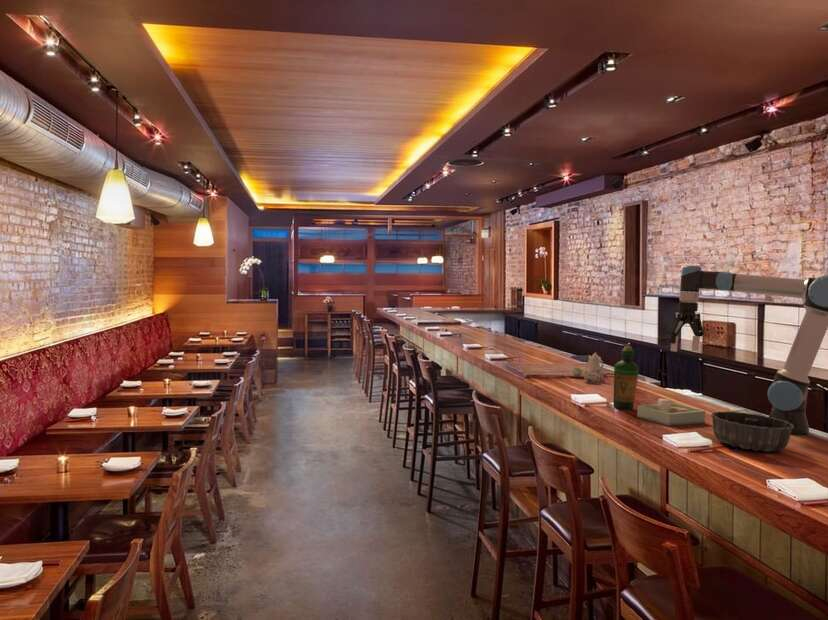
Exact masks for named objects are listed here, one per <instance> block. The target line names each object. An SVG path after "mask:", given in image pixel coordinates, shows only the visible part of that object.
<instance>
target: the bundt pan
mask: <svg viewBox="0 0 828 620" xmlns="http://www.w3.org/2000/svg"><path fill="white" fill-rule="evenodd" d="M711 419H712V428H713V435H714V436H715V438H716V439H717V440H718V441H719V442H722V443H724V444H725V445H728V446H731V447H732V448H740V449H741V450H750V449H751V450H752V451H753V452H757V451H761V452H764V453H769V452H771V453H776V452H778V451H781V450H783V449H785V448H786V447H787V446H788V444H789V441H790V437H791V431H792V429H793V428H794V426H793V424H791V423H788V422H787V421H784V420H780V419H776V418H772V417H769V416H765V415H762V414H754V413H746V412H738V411H716V412H715V411H714V412H712V413H711Z"/></svg>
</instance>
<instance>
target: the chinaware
mask: <svg viewBox="0 0 828 620" xmlns="http://www.w3.org/2000/svg"><path fill="white" fill-rule="evenodd" d="M601 358H602V357H600V356H599V354H597V352H594V353H593V354H592V355H588V361H587V364H586V366H585V367H586V369H585V368H584V367H583V368H582V367H578V366H575V367H572V366H570V367H569V369H570V373H571V374H572V376H573V377H574V378H579V377H580V376H582V375H583V378H584V380H585V381H586V382H587V383H588V384H593V383H595V382H601V381H602V380H603V378H604V377H605V376H604V374H603V372H602V370H603V368H604V361H603V360H602V359H601ZM600 364H601V365H600Z"/></svg>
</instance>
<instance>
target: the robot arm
mask: <svg viewBox="0 0 828 620" xmlns="http://www.w3.org/2000/svg"><path fill="white" fill-rule="evenodd" d="M679 287H680V288H679V289H680V290H679V302H678V311H679V312H674V315H673V319H672V321H671V323H670V325H669V328H668V330H667V334H668V335H669V336H670V352H675V353H677V352H678V347H679V345H678V344H679V336H678V334H679V333H680V331H681V330H682V329H683V326H684V325H686V324H687V325H689V326H690V329H691V331H692V333H693V334H694V335H692V342H691V344H692V345H691V351H692V352H699V348H700V347H699V346H700V341H701V340H700V339H701V337H703V335H704V334H705V333H704V328H703V327H704V326H703V324H702V321H701V313H696V312H698V310H699V303H698V302H699V300H700V299H699V297H700V289H702V290H703V289H704V290H718V291H728V292H738V293H747V294H748V293H749V294H750V293H751V294H758V295H768V296H776V297H777V296H778V297H786V298H797V299H802V300H803V301H804V302H803V303H804V304H803V308H804V310H805V313H804V315H803V318H802V320H801V322H800V325H799V328H798V329H797V330H798V331H797V334H796V335H795V337H794V340H793V342H792V345H791V348H790V351H789V352H788V355H787V357H786V360H785V362H784V366H783V368H781V369H778V370H777V371H776V374H775V376H774V379H773V381H772V383H771V384H770V386H769V387H768V389H767V398H768V401H769V403H770V404H771V405H772V408H771V411H770V413H769V415H768V417H772V418H776V419H780V420H784V421H787V422H788V423H791V424H793V426H794V428H793V429H792V431H791V434H792V435H808V434H810V433H809V432H810V426H809V423H808V419H807V415H806V414H807V413H806V411H807V410H806V409H807V403H808V402H807V400H808V390H809V386H810V383H811V381H810V379H809V374H810V372H811V369H812V366H813V365H814V362H815V359H816V357H817V354H818V353H819V350H820V347H821V345H822V343H823V341H824V337H825V335H826V333H827V331H828V275H821V276H819V277H808V278H805V279H802V278H801V279H800V278H791V277H790V278H789V277H776V276H766V275H764V276H763V275H756V274H754V275H753V274H742V273H731V272H729V271H713V270H712V271H705V270H702V267H701V266H700V265H699V266H698V265H683V266H682V269H681V275H680V286H679Z"/></svg>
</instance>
